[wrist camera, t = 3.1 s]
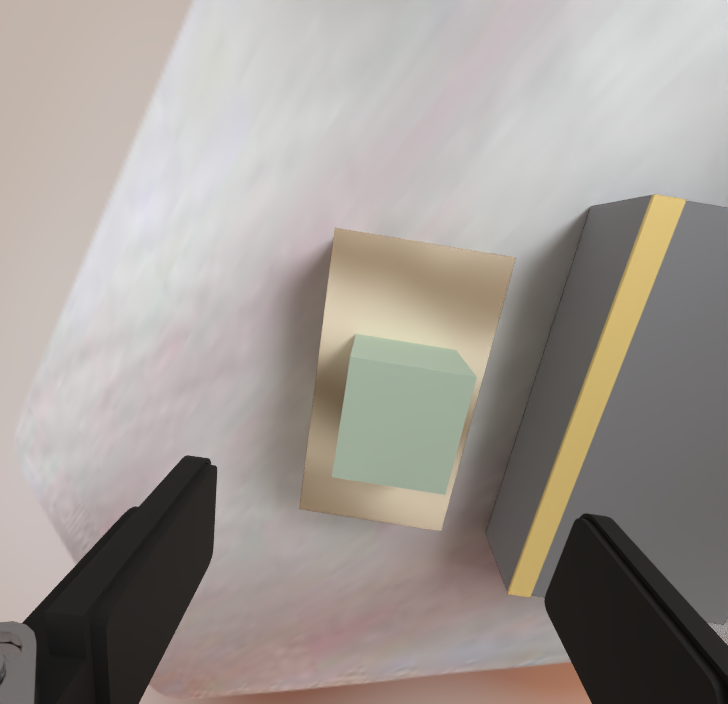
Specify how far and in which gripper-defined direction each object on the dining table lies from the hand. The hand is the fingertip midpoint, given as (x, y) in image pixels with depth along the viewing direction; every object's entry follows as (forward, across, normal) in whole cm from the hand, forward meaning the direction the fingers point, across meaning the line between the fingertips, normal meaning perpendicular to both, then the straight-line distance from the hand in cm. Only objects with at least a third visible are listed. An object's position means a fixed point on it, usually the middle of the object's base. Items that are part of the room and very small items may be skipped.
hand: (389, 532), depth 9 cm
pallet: (+12, -1, 0) cm, 12 cm away
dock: (+11, -15, 0) cm, 18 cm away
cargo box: (+8, -1, -1) cm, 8 cm away
